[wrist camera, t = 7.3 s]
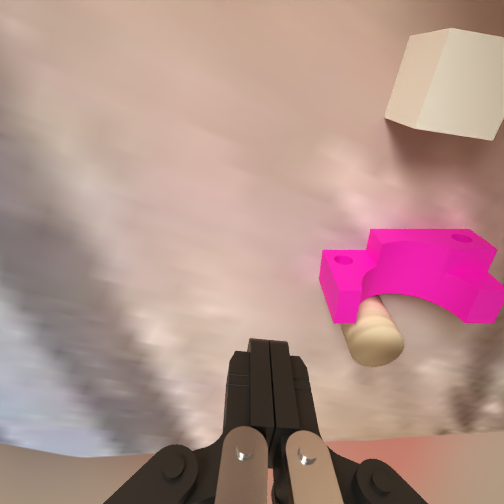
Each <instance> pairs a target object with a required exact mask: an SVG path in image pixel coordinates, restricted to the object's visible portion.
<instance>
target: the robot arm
mask: <svg viewBox="0 0 504 504" xmlns="http://www.w3.org/2000/svg"><path fill="white" fill-rule="evenodd" d="M268 468H272V469H273V478H274V483H273V486H272V491H271V498H272V504H428V503H427V502H426V501H424V499H423V498H421V496H420V495H419V494H418V493H417V492H416V491H415V490H414V489H413V488H411V486H410V485H409V484H407V482H406V481H405V480H403V479H402V477H401V476H399V475H398V473H396V471H394V470H393V469H392V468H391V467H390V466H389V465H387V464H386V463H384V462H382V461H380V460H377V459H367V460H365V461H363V462H362V463H361V464H358V463H356V462H354V461H351V460H349V459H346V458H344V457H342V456H340V455H337V454H336V453H335V452H333V451H332V450H331V449H330V448H329V447H328V446H327V445H326V444H325V442H324V441H323V439H322V438H321V435H320V433H319V429H318V424H317V418H316V413H315V408H314V403H313V397H312V392H311V387H310V382H309V376H308V371H307V367H306V366H305V364H304V362H303V361H302V359H301V358H300V356H290V354H289V347H288V342H286V341H275V340H269V341H268V340H263V339H253V338H250V339H249V344H248V349H247V352H243V351H235V353H234V355H233V356H232V358H231V360H230V363H229V370H228V376H227V383H226V394H225V408H224V422H223V433H222V435H221V436H220V438H219V439H218V440H217V441H216V442H215V443H213V444H212V445H210V446H207V447H205V448H201V449H198V450H194V451H191V450H190V449H189V448H187V447H185V446H183V445H177V444H176V445H169V446H167V447H164V448H163V449H161V450H160V451H158V452H157V453H156V454H155V455H154V456H153V457H152V458H151V459H150V460H149V461H148V462H147V463H146V464H144V465H143V466H142V468H140V469H139V470H138V471H137V472H136V473H135V474H134V475H133V476H132V477H131V478H130V479H129V480H128V481H126V483H124V484H123V485H122V486H121V487H120V488H119V489H118V490H117V491H116V492H115V493H114V494H113V495H112V496H111V497H110V498H109V499H107V500H106V501H105V502H104V503H103V504H267V474H268V472H267V471H268Z"/></svg>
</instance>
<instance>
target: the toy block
mask: <svg viewBox="0 0 504 504" xmlns="http://www.w3.org/2000/svg"><path fill="white" fill-rule="evenodd" d="M496 252H497V249H496V248H495V247H494V246H492V245H491V244H489V243H488V242H487V241H485V240H484V239H483V238H481V237H480V236H478V235H477V234H476V233H474V232H473V231H472V230H470V229H370V234H369V239H368V243H367V248H366V250H323V252H322V259H321V267H320V274H319V281H320V284H321V287H322V290H323V293H324V296H325V299H326V302H327V305H328V308H329V311H330V314H331V317H332V320H333V323H356V319H357V314H358V309H359V305H360V303H361V302H363V301H364V300H366V299H367V298H370V297H372V296H375V295H380V294H404V295H410V296H414V297H418V298H422V299H425V300H428V301H430V302H433V303H435V304H437V305H439V306H441V307H443V308H445V309H447V310H448V311H450V312H452V313H453V314H455V315H456V316H457V317H459V318H460V319H461V320H462V321H463V322H464V323H494V321H495V319H496V317H497V315H498V313H499V311H500V309H501V307H502V305H503V303H504V286H503V285H502V284H501V283H500V282H499V281H497V280H496V279H495V278H494V277H493V276H492V275H490V274H489V273H488V270H489V268H490V265H491V263H492V261H493V259H494V256H495V254H496Z"/></svg>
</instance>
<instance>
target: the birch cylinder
mask: <svg viewBox="0 0 504 504" xmlns="http://www.w3.org/2000/svg"><path fill="white" fill-rule="evenodd" d="M340 325H341V328H342V331H343V333H344V336H345V339H346V342H347V344H348V347H349V350H350V353H351V355H352V358H353V359H354V360H355V361H356V362H357V363H359V364H360V365H363V366H368V367H377V366H382V365H385V364H388V363H390V362H392V361H393V360H395V359H396V358H397V357H398V356H399V355H400V354H401V352H402V351H403V348H404V340H403V338H402V336H401V334H400V333H399V331H398V329H397V327H396V326H395V324H394V322H393V320H392V319H391V317H390V315H389V313H388V312H387V310H386V308H385V306H384V305H383V303H382V301H381V299H380V298H379V296H378V295H375V296H372V297H370V298H367V299H366V300H364V301H363V302H361V303H360V305H359V309H358V314H357V319H356V323H340Z"/></svg>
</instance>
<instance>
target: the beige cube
mask: <svg viewBox="0 0 504 504" xmlns="http://www.w3.org/2000/svg"><path fill="white" fill-rule="evenodd" d="M384 118H386V119H389V120H392V121H395V122H397V123H400V124H403V125H406V126H408V127H411V128H414V129H420V130H426V131H433V132H439V133H446V134H452V135H459V136H465V137H472V138H478V139H485V140H491V141H493V139H494V137H495V135H496V133H497V131H498V129H499V127H500V125H501V123H502V121H503V119H504V37H500V36H494V35H488V34H483V33H477V32H472V31H466V30H461V29H455V28H448V29H443V30H438V31H433V32H427V33H422V34H417V35H412V36H410V38H409V41H408V44H407V47H406V50H405V53H404V56H403V60H402V63H401V66H400V69H399V72H398V75H397V78H396V82H395V85H394V88H393V91H392V94H391V97H390V101H389V104H388V107H387V110H386V113H385V116H384Z"/></svg>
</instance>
